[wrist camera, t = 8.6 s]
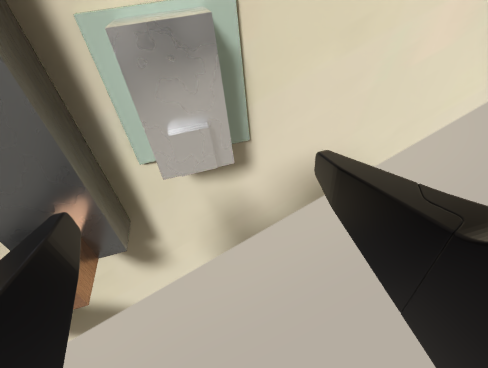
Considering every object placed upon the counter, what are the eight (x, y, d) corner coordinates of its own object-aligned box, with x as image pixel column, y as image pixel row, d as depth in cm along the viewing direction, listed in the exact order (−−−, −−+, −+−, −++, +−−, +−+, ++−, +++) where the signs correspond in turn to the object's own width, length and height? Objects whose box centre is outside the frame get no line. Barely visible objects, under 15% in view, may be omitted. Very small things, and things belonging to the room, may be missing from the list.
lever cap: (224, 139, 21) (237, 169, 18) (162, 153, 20) (163, 186, 17) (202, 5, 15) (214, 13, 12) (114, 18, 15) (102, 30, 11)
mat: (248, 137, 22) (249, 140, 22) (140, 161, 21) (139, 164, 20) (233, -10, 16) (234, -9, 15) (75, 13, 14) (73, 14, 14)
